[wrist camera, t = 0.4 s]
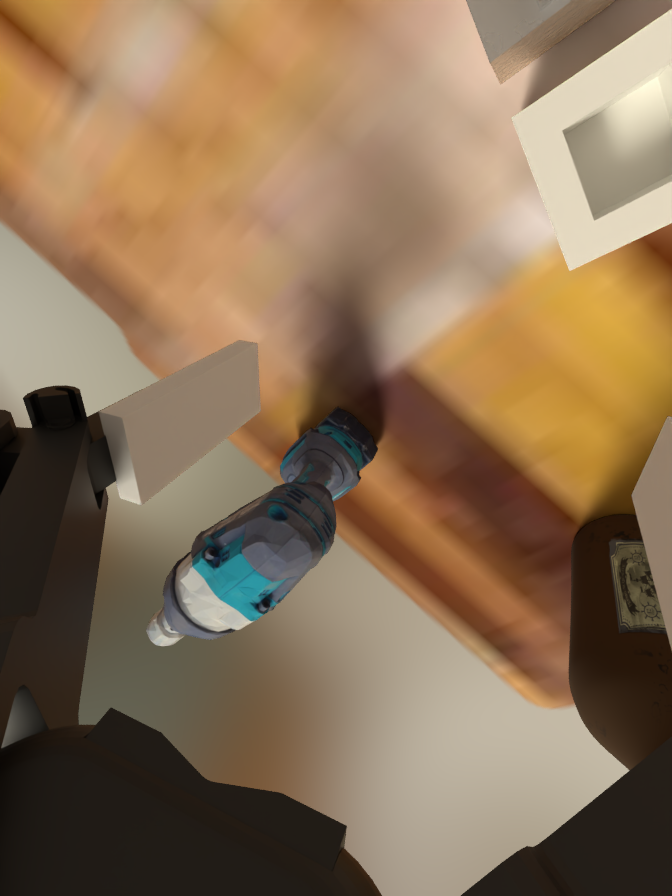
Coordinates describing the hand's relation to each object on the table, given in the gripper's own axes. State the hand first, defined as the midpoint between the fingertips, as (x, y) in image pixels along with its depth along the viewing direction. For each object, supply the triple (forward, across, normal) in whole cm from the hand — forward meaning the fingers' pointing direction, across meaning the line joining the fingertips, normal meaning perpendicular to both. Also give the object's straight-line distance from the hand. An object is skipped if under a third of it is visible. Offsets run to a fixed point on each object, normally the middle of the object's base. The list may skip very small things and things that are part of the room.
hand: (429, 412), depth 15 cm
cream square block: (+28, +6, +9) cm, 30 cm away
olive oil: (+28, +17, -24) cm, 40 cm away
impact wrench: (+28, -14, -21) cm, 38 cm away
